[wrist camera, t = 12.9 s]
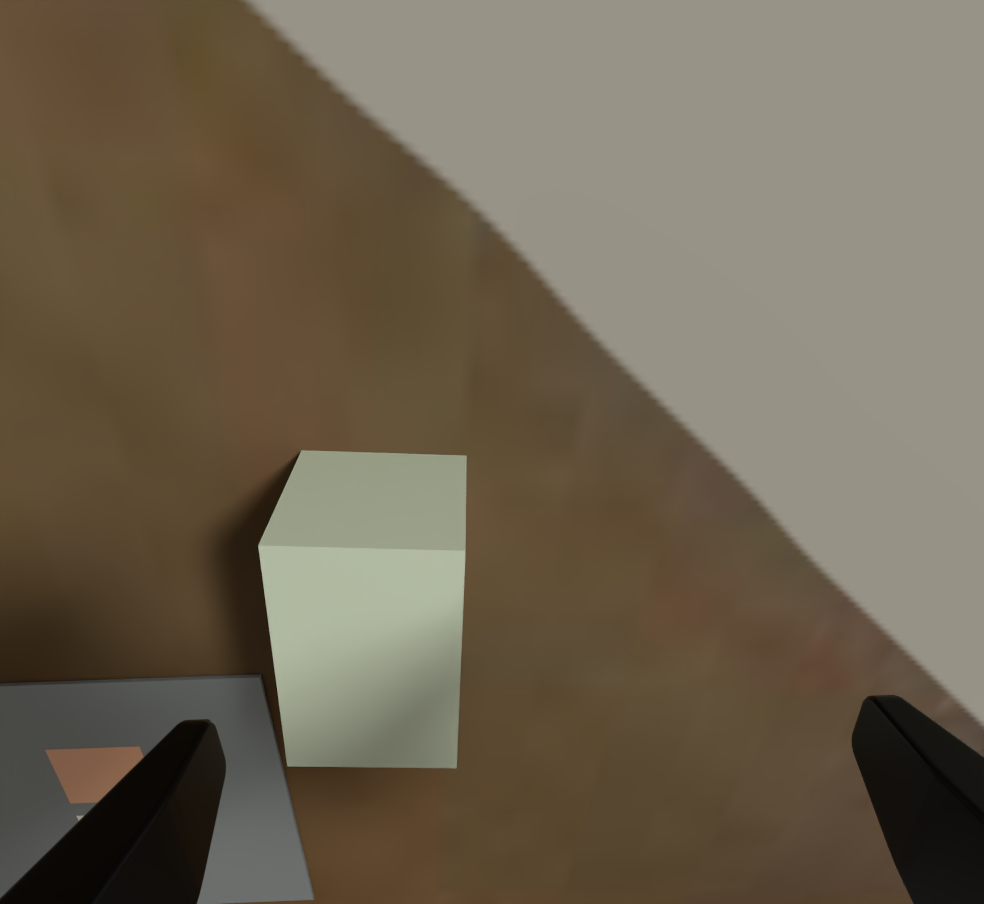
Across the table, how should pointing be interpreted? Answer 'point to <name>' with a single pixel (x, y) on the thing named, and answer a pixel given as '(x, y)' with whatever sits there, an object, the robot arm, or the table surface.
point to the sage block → (368, 608)
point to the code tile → (121, 745)
